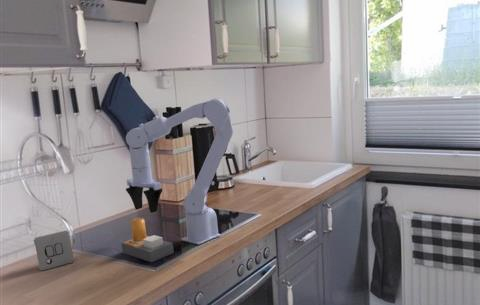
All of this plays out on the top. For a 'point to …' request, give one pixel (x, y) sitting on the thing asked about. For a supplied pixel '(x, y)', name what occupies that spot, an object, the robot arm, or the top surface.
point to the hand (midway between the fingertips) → (146, 210)
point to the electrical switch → (54, 250)
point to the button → (153, 242)
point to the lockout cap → (138, 229)
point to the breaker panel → (147, 250)
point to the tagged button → (136, 242)
